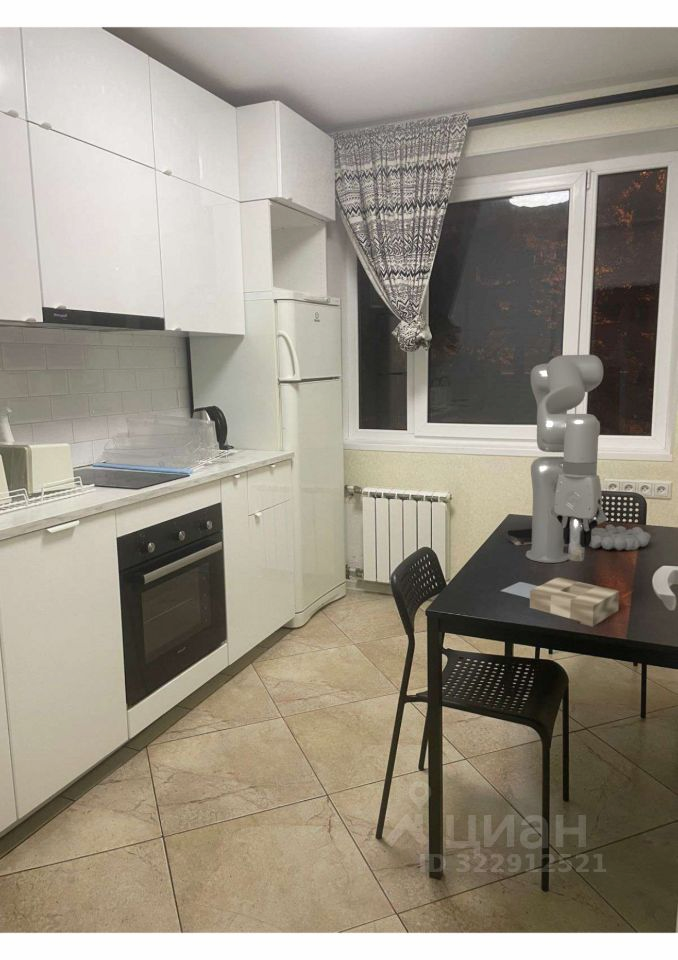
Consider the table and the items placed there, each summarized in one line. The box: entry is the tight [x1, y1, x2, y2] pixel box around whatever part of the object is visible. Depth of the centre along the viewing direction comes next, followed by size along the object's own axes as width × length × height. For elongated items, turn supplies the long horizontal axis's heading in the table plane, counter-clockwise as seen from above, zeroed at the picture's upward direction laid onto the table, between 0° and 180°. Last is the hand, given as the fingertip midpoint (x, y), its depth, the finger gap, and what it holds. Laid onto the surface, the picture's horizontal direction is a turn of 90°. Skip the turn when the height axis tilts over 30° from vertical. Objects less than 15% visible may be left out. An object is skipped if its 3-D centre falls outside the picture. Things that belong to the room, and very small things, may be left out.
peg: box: [567, 517, 586, 562], centre depth 161 cm, size 4×4×12 cm
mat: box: [500, 581, 539, 599], centre depth 178 cm, size 10×10×1 cm
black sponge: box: [506, 528, 532, 546], centre depth 229 cm, size 16×8×4 cm, turn 103°
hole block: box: [529, 576, 620, 627], centre depth 164 cm, size 14×16×5 cm
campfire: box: [588, 524, 651, 551], centre depth 222 cm, size 22×21×6 cm
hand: (576, 543), depth 162 cm, fingers closed on peg, 3 cm apart
